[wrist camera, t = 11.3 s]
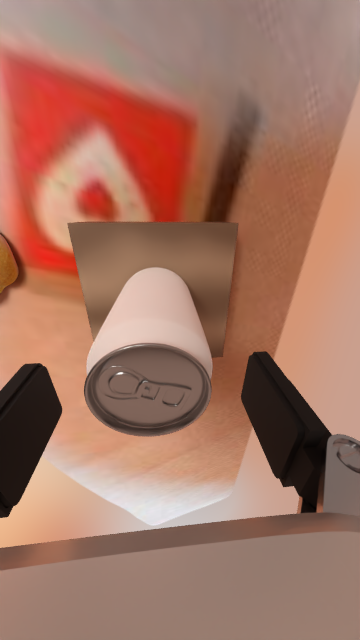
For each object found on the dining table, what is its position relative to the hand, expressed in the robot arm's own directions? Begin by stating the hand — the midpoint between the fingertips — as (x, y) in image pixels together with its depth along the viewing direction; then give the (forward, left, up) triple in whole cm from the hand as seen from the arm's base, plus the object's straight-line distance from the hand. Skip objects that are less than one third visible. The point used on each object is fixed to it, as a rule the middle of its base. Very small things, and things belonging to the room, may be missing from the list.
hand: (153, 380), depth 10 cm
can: (0, 0, -11) cm, 11 cm away
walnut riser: (0, 0, -16) cm, 16 cm away
